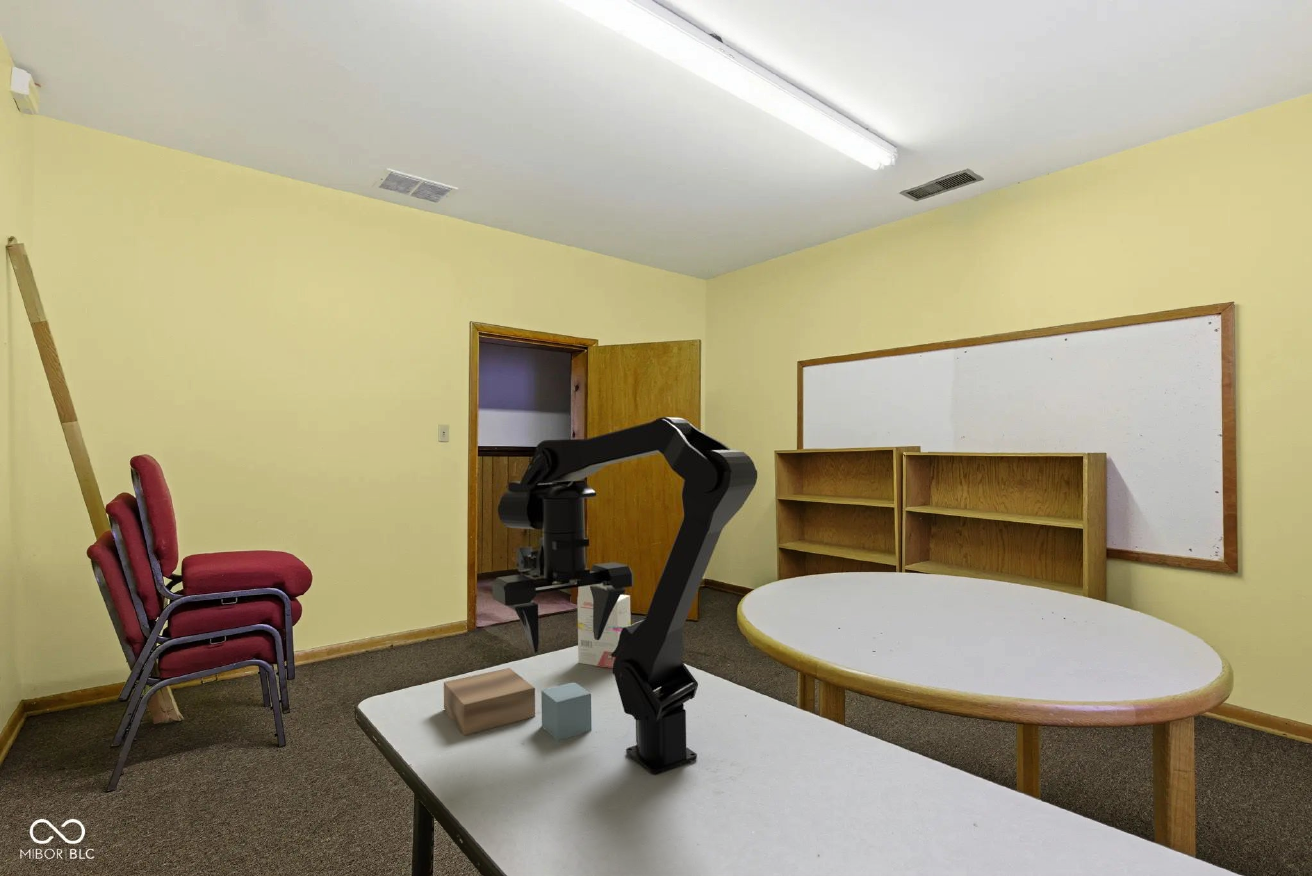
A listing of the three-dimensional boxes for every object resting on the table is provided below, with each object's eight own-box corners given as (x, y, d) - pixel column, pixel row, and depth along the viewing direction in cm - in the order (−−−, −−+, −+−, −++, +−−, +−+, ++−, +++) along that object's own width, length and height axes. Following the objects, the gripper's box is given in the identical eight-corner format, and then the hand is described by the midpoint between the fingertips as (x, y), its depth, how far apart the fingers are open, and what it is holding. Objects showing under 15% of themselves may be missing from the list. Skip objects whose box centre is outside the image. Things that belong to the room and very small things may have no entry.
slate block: (591, 730, 84) (591, 693, 84) (557, 741, 81) (556, 702, 81) (575, 717, 88) (574, 682, 88) (541, 727, 85) (541, 690, 85)
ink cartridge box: (633, 661, 111) (631, 578, 111) (618, 670, 106) (617, 583, 106) (592, 654, 115) (591, 574, 115) (576, 663, 110) (575, 579, 110)
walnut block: (535, 716, 88) (534, 687, 88) (464, 735, 83) (464, 704, 83) (509, 693, 97) (509, 667, 97) (443, 709, 91) (443, 682, 91)
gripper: (597, 521, 97) (600, 621, 97) (478, 532, 87) (481, 644, 87) (633, 527, 88) (637, 638, 88) (505, 539, 78) (508, 665, 78)
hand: (566, 645), depth 85 cm, fingers open, 9 cm apart
